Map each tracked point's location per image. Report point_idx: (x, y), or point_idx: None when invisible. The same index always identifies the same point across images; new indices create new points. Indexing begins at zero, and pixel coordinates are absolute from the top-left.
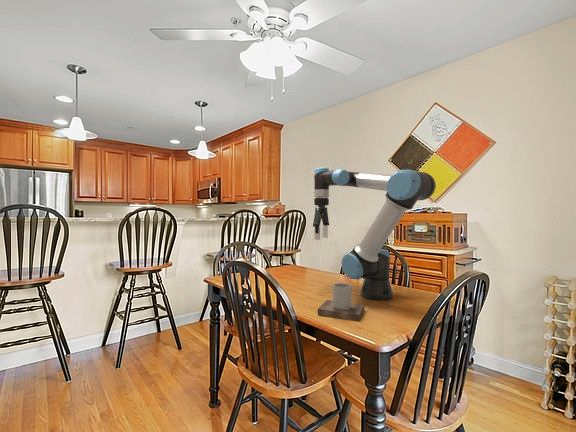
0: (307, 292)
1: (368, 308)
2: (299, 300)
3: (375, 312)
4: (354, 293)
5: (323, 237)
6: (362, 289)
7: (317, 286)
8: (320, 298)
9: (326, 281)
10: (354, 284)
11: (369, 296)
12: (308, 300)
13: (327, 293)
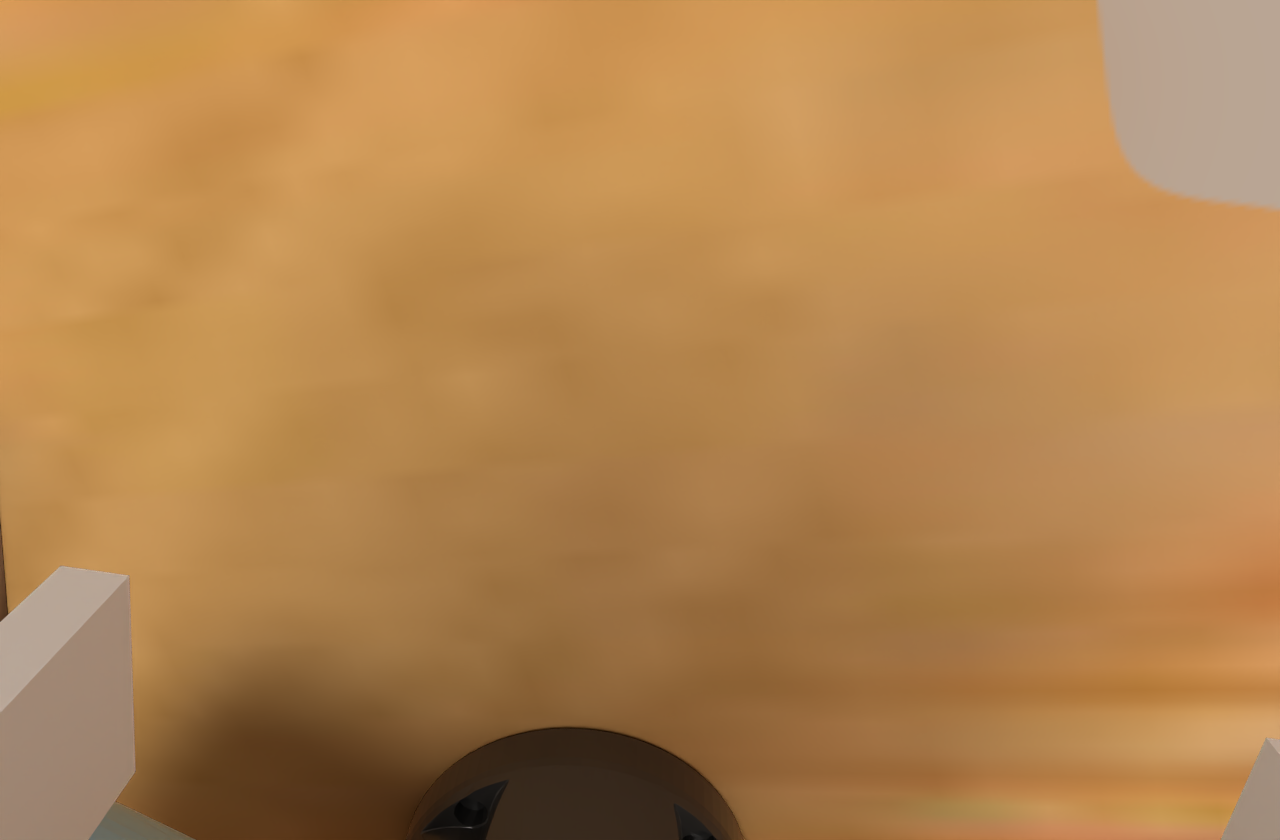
0: (463, 72)
1: None
2: (32, 40)
3: None
4: (604, 665)
5: (1251, 780)
6: (500, 796)
7: (859, 166)
8: (239, 302)
9: (1225, 263)
10: (1070, 657)
11: (413, 823)
12: (88, 164)
13: (503, 360)
